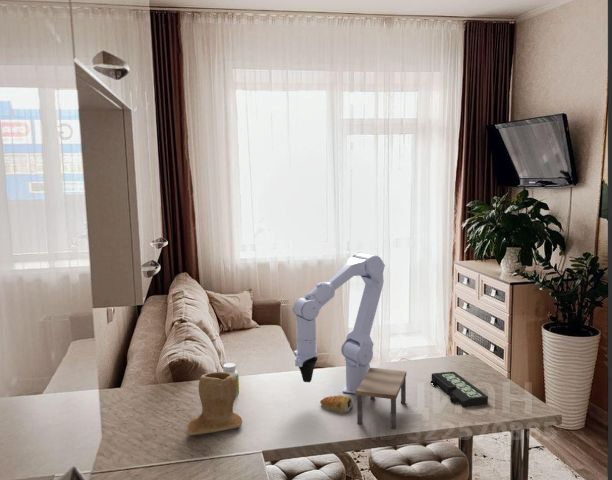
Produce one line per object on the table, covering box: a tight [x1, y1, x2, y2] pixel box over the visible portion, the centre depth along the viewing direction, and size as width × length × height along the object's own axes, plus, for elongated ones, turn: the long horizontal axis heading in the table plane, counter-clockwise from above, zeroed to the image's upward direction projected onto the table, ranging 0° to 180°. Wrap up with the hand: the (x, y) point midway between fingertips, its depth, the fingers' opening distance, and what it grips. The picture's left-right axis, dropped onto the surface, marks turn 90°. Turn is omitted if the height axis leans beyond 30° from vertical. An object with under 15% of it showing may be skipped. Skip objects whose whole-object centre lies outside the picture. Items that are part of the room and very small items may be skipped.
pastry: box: [319, 394, 354, 414], centre depth 155 cm, size 9×7×4 cm
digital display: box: [430, 371, 489, 408], centre depth 164 cm, size 21×3×10 cm
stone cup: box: [187, 371, 243, 436], centre depth 144 cm, size 15×12×15 cm
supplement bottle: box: [222, 362, 240, 397], centre depth 166 cm, size 5×5×10 cm
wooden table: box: [355, 367, 407, 430], centre depth 150 cm, size 18×11×10 cm, turn 160°
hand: (307, 381), depth 158 cm, fingers closed
